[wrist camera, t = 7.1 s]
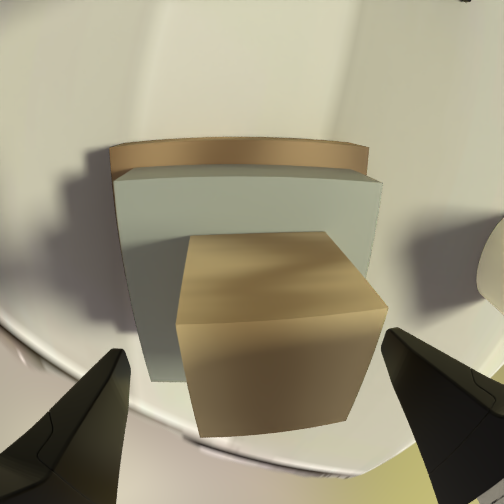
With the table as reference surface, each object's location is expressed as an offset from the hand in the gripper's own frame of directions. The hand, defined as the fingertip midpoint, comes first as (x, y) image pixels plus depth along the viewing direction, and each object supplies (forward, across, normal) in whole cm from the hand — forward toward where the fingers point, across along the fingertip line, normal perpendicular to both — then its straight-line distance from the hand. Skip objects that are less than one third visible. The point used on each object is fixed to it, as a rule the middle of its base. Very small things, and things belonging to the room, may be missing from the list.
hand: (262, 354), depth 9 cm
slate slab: (+6, 0, 0) cm, 6 cm away
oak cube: (+3, 0, 0) cm, 3 cm away
